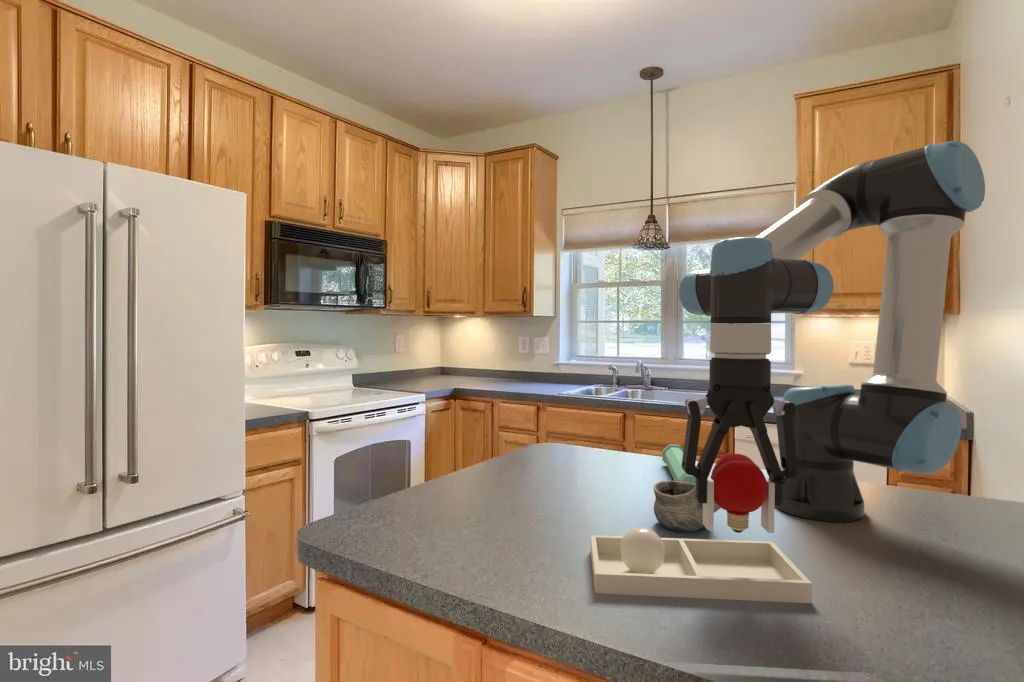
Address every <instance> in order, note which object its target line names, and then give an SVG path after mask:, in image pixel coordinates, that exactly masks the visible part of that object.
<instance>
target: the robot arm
mask: <svg viewBox="0 0 1024 682" xmlns="http://www.w3.org/2000/svg"><path fill="white" fill-rule="evenodd" d="M985 182H986V181H985V177H984V172H983V169H982V166H981V163H980V161H979V158H978V157H977V155H976V154H975V151H973V149H972V148H971V147H970V146H969V145H968V144H966V143H964V142H962V141H958V140H950V141H945V142H942V143H941V142H939V143H935V144H927V145H925V146H924V147H920V148H916V149H912V150H909V151H904V152H900V153H897V154H893V155H892V154H891V155H889V156H885V157H882V158H878V159H872V160H867V161H864V162H862V163H860V164H857V165H854V166H852V167H850V168H848V169H846V170H844V171H842V172H841V173H839V174H837V175H835V176H833V177H832V178H830V179H828V180H827V181H825V182H824V183H823V184H821V185H819V186H818V187H815V189H813V190H812V191H811V192H809V193H807V194H806V195H805V196H804V197H803V198H802V200H801V201H800V203H799V206H798V207H796V209H794V210H793V211H791V212H790V213H788V214H787V215H786V216H784V217H782V218H781V219H780V220H778V221H777V222H775V223H774V224H772V225H771V226H770V227H769V228H767V229H765V230H764V231H762V232H761V233H760V234H758V235H757V236H747V237H746V236H745V237H743V236H742V237H732V238H727V239H722V240H719V241H717V242H716V243H715V244H714V245H713V246H712V250H711V259H710V260H711V261H710V267H709V268H705V269H704V268H700V269H697V270H693V271H690V272H688V273H686V274H685V275H684V276H683V278H682V279H681V281H680V283H679V288H678V297H679V300H680V303H681V305H682V307H683V309H684V310H686V311H687V313H689V314H691V315H694V316H696V315H697V316H699V315H700V316H706V317H710V327H709V328H710V331H709V352H710V353H711V354H714V357H710V358H711V359H709V379H708V380H709V383H708V384H709V385H708V387H709V388H708V391H707V393H706V394H705V397H700V398H695V399H692V398H688V399H686V400H685V402H684V405H685V409H686V413H687V420H686V421H687V422H686V428H685V429H686V431H685V437H684V443H683V449H684V450H683V458H682V465H681V466H682V469H683V470H684V471H685V472H686V474H688V475H692V476H694V477H695V478H696V489H695V496H696V499H697V501H698V502H699V503H703V524H704V526H705V527H704V528H705V529H706V530H707V531H712V532H713V531H714V526H715V525H714V524H715V523H714V520H715V519H714V518H715V513H714V481H713V480H712V479H711V478H710V477H709V476H710V473H712V470H713V468H714V463H715V461H716V458H717V457H718V453H719V451H720V449H721V447H722V444H723V441H724V439H725V436H726V435H727V434H728V432H729V430H730V428H736V427H737V428H738V427H745V428H749V430H750V431H751V433H752V437H753V438H754V441H755V444H756V446H757V449H758V452H759V455H760V457H761V459H762V463H763V466H764V468H765V470H766V473H767V475H768V477H765V478H766V482H767V496H766V499H765V501H764V503H763V504H762V506H761V507H760V513H761V514H760V526H761V528H763V529H764V530H765V531H766V532H767V533H768V534H769V533H770V534H775V508H776V509H778V510H780V511H782V512H785V513H787V514H790V515H793V516H796V517H801V518H805V519H811V520H817V521H824V522H841V523H842V522H853V521H858V520H860V519H862V518H864V517H865V500H864V498H863V496H862V492H861V490H860V487H859V484H858V481H857V479H856V478H857V477H856V475H855V473H854V461H855V462H859V463H863V464H864V463H865V464H868V465H873V466H878V467H883V468H887V469H892V470H895V471H897V472H904V473H913V474H914V473H915V474H921V475H931V474H934V473H937V472H939V471H941V470H942V469H944V468H945V467H946V466H947V465H948V463H949V462H950V461H951V460H952V458H953V456H954V455H955V453H956V451H957V449H958V446H959V444H960V439H961V435H962V425H963V424H962V421H961V420H960V419H961V413H960V411H959V409H958V408H957V407H956V406H955V405H953V404H952V403H950V402H947V397H948V392H947V391H946V390H945V389H944V388H943V386H941V384H940V383H938V381H937V377H938V376H937V375H938V367H939V357H940V347H941V336H942V327H943V319H944V318H943V317H944V308H945V300H946V299H945V297H946V290H947V289H946V287H947V278H948V270H949V269H948V268H949V259H950V258H949V257H950V249H951V239H952V236H954V235H955V234H956V233H958V232H959V231H960V230H962V229H963V228H964V226H965V218H966V214H967V213H970V212H971V213H972V212H973V211H975V210H977V209H979V208H980V207H981V206H982V203H983V202H984V199H985V195H986V183H985ZM872 226H878V230H879V231H880V232H881V233H882V234H883V235H884V236H885V237H886V238H887V240H886V241H887V243H886V251H885V260H884V262H885V263H884V269H883V279H882V289H881V298H880V306H879V307H880V308H879V315H878V323H877V324H878V325H877V335H876V344H875V353H874V361H873V371H872V374H871V376H869V377H868V378H867V379H865V380H863V381H862V382H861V385H860V393H859V394H857V391H856V389H855V387H854V386H853V385H852V384H832V385H816V386H813V385H812V386H799V387H798V386H797V387H791V388H789V389H787V390H785V392H784V394H783V399H782V400H779V399H777V398H776V399H775V398H774V396H773V394H772V392H771V381H772V380H771V379H772V378H771V376H772V375H771V373H772V371H771V370H772V365H771V364H772V361H771V360H770V359H769V358H767V355H769V354H771V353H772V314H793V315H800V314H801V315H805V314H811V313H812V314H813V313H815V312H817V311H820V310H822V309H823V308H825V306H827V304H828V303H829V302H830V300H831V299H832V297H833V293H834V287H835V284H834V278H833V275H832V274H831V271H830V270H829V269H828V268H827V267H826V266H824V265H823V264H822V263H818V262H815V261H810V260H808V259H802V258H803V257H804V256H806V255H807V254H808V253H810V252H811V251H813V249H815V248H816V247H818V246H820V245H821V243H823V242H824V241H826V240H833V239H836V238H838V237H840V236H841V235H844V234H845V233H846V232H849V231H851V230H856V229H860V228H864V227H872ZM706 407H708V408H709V409H710V410H711V412H712V413H713V414H714V415H715V417H714V418H713V421H712V423H711V429H710V431H709V433H708V437H707V439H706V441H705V444H704V446H703V448H702V449H703V450H702V452H701V454H700V457H699V459H698V462H697V454H698V446H699V441H700V439H699V438H700V431H701V425H702V424H701V423H702V416H703V415H704V414H705V412H706ZM771 408H772V410H773V411H772V412H773V414H774V416H775V419H776V421H775V423H776V431H777V432H776V433H777V441H778V450H779V459H780V464H779V461H778V458H777V456H776V452H775V451H774V448H773V445H772V441H771V439H770V437H769V434H768V427H767V426H766V423H765V420H764V418H765V416H766V414H767V413H768V412H770V410H771ZM696 463H697V464H696Z"/></svg>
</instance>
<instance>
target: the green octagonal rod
mask: <svg viewBox="0 0 1024 682" xmlns="http://www.w3.org/2000/svg"><path fill="white" fill-rule="evenodd" d="M683 450H684V447H682V446H681V445H680V444H670V443H669V444H668V445H667V446H666V447H665V448H663V450H662V461H663V462H664V463H665V465H666V466H667V468H668V470H669V473H670V474H671V476H672V478H673V481H679V482H687V483H692V484H696V478H695V477H694V476H692V475H688V474H686V472H685V471H684V470H683V469H682V466H681V465H682V458H683Z"/></svg>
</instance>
